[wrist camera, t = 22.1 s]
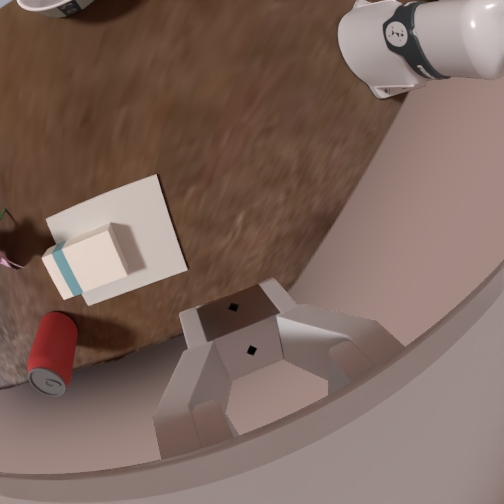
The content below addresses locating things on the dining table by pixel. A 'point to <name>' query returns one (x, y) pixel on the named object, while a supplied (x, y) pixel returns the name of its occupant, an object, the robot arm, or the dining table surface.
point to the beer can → (53, 354)
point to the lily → (1, 258)
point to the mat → (127, 234)
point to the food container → (55, 6)
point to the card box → (86, 261)
